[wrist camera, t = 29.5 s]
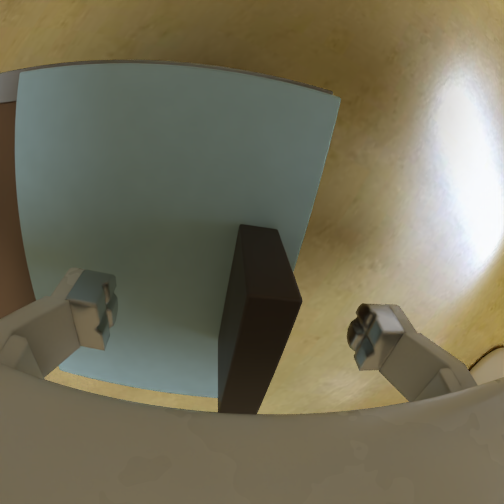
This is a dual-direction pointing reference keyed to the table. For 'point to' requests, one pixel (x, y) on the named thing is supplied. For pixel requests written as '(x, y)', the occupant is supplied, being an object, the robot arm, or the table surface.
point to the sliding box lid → (173, 215)
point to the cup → (489, 367)
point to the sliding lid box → (4, 182)
